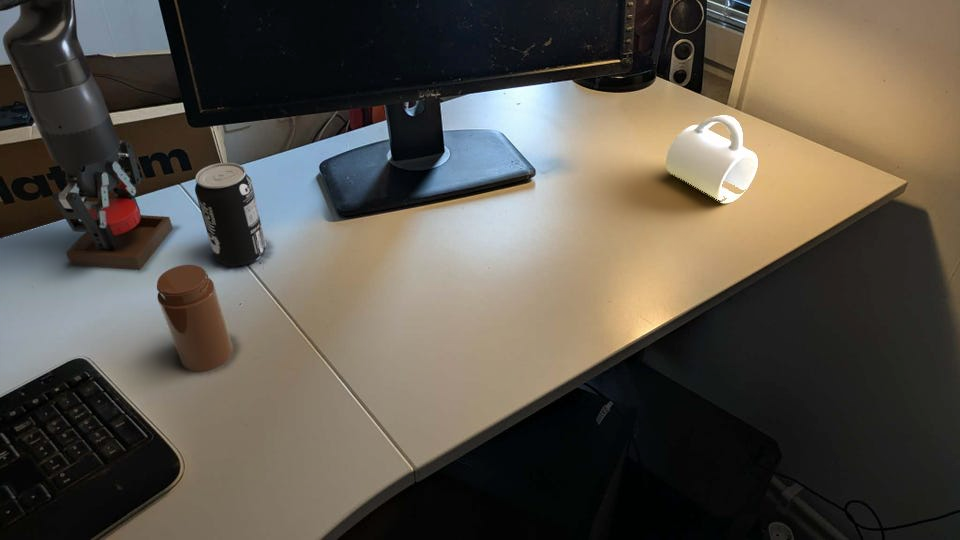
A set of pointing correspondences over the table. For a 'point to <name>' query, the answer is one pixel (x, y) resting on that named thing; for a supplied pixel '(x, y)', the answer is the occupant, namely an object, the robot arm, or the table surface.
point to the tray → (123, 246)
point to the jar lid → (121, 215)
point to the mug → (712, 158)
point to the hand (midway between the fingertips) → (121, 233)
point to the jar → (194, 317)
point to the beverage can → (230, 213)
